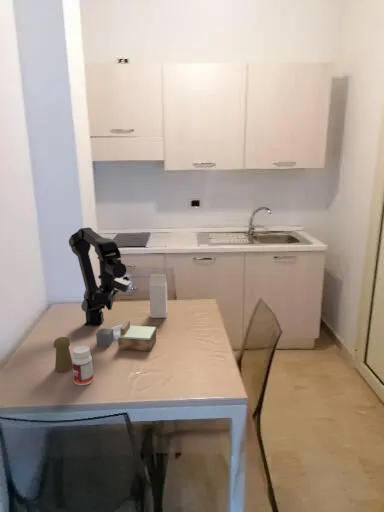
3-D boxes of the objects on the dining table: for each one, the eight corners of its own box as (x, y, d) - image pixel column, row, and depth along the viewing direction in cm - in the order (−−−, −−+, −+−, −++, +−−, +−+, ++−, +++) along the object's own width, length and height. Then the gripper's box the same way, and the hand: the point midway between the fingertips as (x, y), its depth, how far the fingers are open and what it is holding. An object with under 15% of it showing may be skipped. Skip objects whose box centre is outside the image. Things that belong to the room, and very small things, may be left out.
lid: (118, 338, 152) (117, 330, 152) (126, 327, 162) (125, 319, 161) (149, 340, 151) (149, 332, 150) (155, 328, 160) (155, 321, 159)
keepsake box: (118, 349, 154) (118, 338, 152) (126, 338, 163) (126, 327, 162) (150, 351, 152) (149, 340, 151) (156, 339, 161) (155, 329, 160)
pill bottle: (70, 380, 134) (68, 348, 131) (88, 373, 137) (86, 342, 134) (79, 388, 129) (76, 355, 126) (96, 381, 133) (94, 349, 130)
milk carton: (166, 317, 182) (165, 277, 178) (150, 317, 183) (148, 277, 178) (167, 311, 189) (166, 272, 185) (152, 311, 189) (150, 272, 185)
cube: (96, 345, 157) (96, 333, 156) (101, 339, 162) (100, 328, 161) (109, 346, 157) (108, 334, 155) (113, 340, 161) (113, 328, 160)
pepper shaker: (77, 365, 143) (74, 336, 140) (65, 374, 137) (62, 343, 135) (63, 362, 145) (60, 333, 142) (51, 370, 140) (48, 340, 137)
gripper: (119, 280, 149) (122, 319, 153) (134, 266, 167) (136, 302, 171) (90, 278, 151) (93, 318, 155) (108, 265, 169) (110, 300, 173)
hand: (109, 309), depth 163 cm, fingers closed
